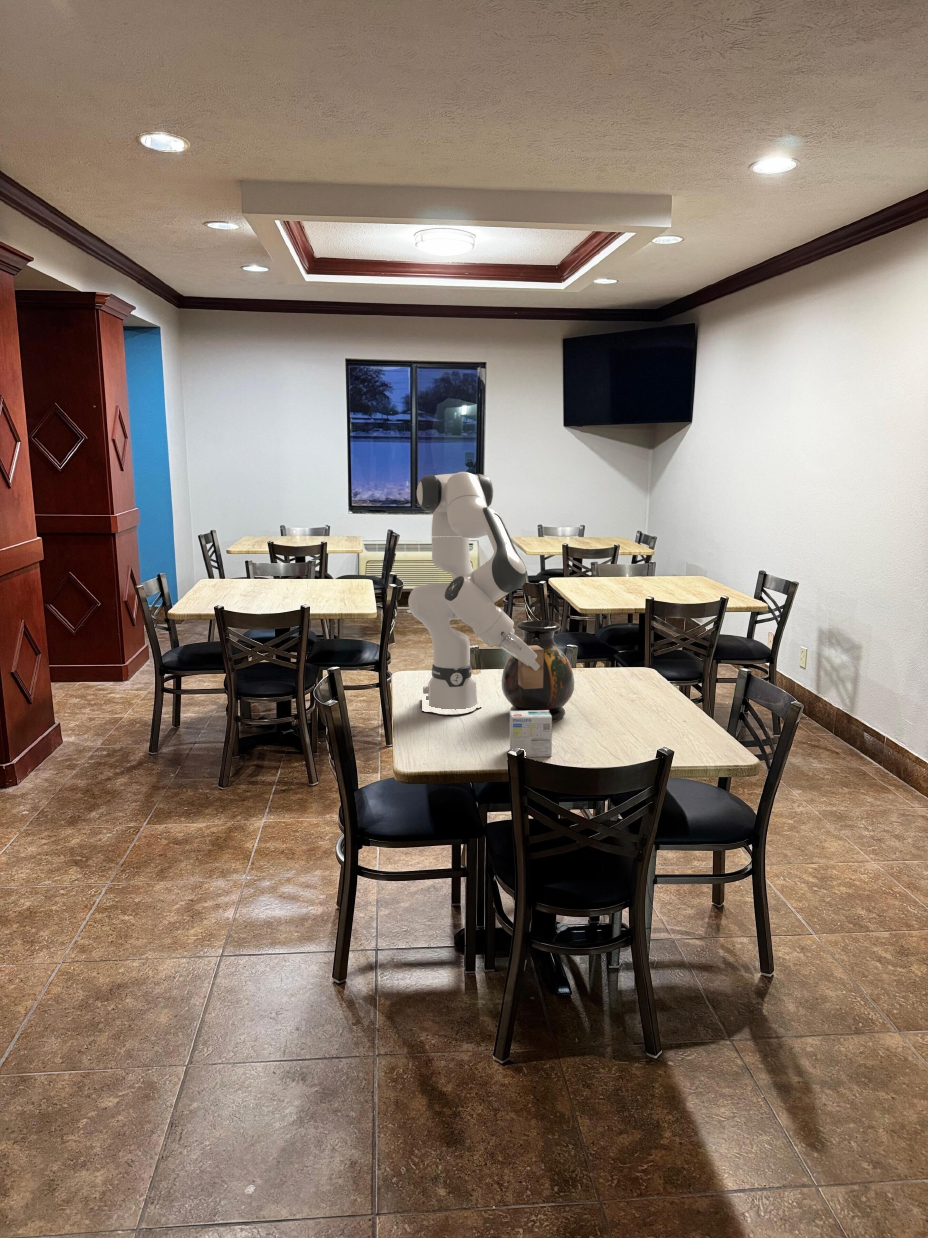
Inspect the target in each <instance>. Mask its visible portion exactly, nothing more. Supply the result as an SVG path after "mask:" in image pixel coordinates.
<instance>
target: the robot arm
mask: <svg viewBox="0 0 928 1238" xmlns="http://www.w3.org/2000/svg"><path fill="white" fill-rule="evenodd" d="M416 498H417V502H418V504H419V507H420V508H421V509H422V510H424V511H426V512H429V513H430V512H431V513H433V514H432V522H431V559H432V563H433V564H434V566H435V567H436V568H437V569H439V570H441V571H443V572H445V573H447V574H449V575H451V577H452V580H451V582H447V583H445V582H443V583H428V584H427V583H426V584H423V585H418V586H415V587H413V589H412V590H411V591H410V594H409V596H408V600H407V601H408V603H407V604H408V609H409V611H410V613H411V615H412V616H413V617H414V618H415V619H417V620H418V621H419V622H421V624H423V625H424V627H425V628H426V629H427V631H428V633H429V635H430V637H431V642H432V652H433V653H432V656H433V664H432V666H431V678H430V679H429V681H428V682H427V686H422V693H423V695H425V696H426V695H428V696H426V700H429V706H431V707H435V708H441V709H455V710H456V709H466V708H471V707H473V706H475V705H476V704H477V702H478V696H477V694H478V693H477V683H476V680H474V679H473V678H472V671H473V668H472V664H471V643H470V642H471V641H470V638H469V637H468V636H467V635H466V634H465V633H464V632H461V631H459V630H457V629H454V628H453V627H451V623H450V622H451V621H453V620H454V621H455V620H461V621H462V622H463V623H464V624H465V625H468V626H469V627H470V628H471V629H472V631H473V632H474V634H475V635H476V636H477V637H478V638H479V639H481V641H482V642H484V643H485V644H486V645H487V647H490V648H492V647H495V648H497V649H498V648H500V649H502V650H503V651H504V652H506V653H508V654H510V655H512V656H514V657H515V658H517V659H518V660H520V661H521V662H523V663H524V664H525V665H527V666H530V667H531V668H532V669H534V670H535V671H536V670H538V669H539V668H540V665H539V664H538V663H537V662H536V661H535V659H536V658H537V655H536V653H535V652H534V651H533V650H532V649H531V648H530V647H529V646H528V645H527V644H525V643H524V642H523V640H522V638H520V637H519V636H518V635H516V634H515V629H514V625H515V622H514V620H512V619H511V618H510V616H509V615H508V614H507V613H506V612H505V611H504V610H503V609H502V608H500V607H499V606H498V605H495V603H496V602H497V601H499V600H500V599H502V598H503V597H505V596H507V595H508V594H510V593H512V592H514V591H516V590H518V589H519V588H522V587H523V586H524V585H525V582H526V579H527V566H526V565H525V563H524V561H523V559H522V558H521V556H520V555H519V553H518V552H517V549H516V547H515V545H514V542H513V540H512V538H511V536H510V534H509V531H508V528H507V526H506V524H505V522H504V521H503V518H502V517H501V516H500V513H498V512H497V510H496V509H494V508H492V507H491V505H492V501H493V498H494V486H493V483H492V480H491V479H490V477H489V476H487V475H484V474H480V473H476V474H474V473H470V472H468V471H458V472H455V473H445V474H444V473H443V474H436V475H435V474H428V475H424V476H422V478H421V479H420V480H419V481H418V485H417V489H416ZM485 536H487V537H488V539H489V542H490V544H491V547H492V550H493V554H492V556H491V557H490V558H489V559H488V561H487V560H486V562H485V563H483V564H482V565H481V566H479V567H477V568H476V569H474V568H473V565H472V562H471V555H470V540H469V539H478V538H481V537H485Z"/></svg>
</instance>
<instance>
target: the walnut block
mask: <svg viewBox="0 0 928 1238" xmlns="http://www.w3.org/2000/svg"><path fill="white" fill-rule="evenodd" d="M529 647H530V648H531V649H532V650H533V651H534V652H535V653H536V655H537V658H536V659H535V661H536V662H537V663H538V664H539V665H540V668H539V669H538V670H536V671H535V670H534V669H532V668H531V667H530V666H527V665H525V664H524V663H523V662H521V661H520V660H518V685H520V686H521V687H522V688H524V689H534V688H543V663H544V649H542V648H541V647H539V646H537V645H534V646H529Z"/></svg>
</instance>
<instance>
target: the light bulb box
mask: <svg viewBox="0 0 928 1238" xmlns="http://www.w3.org/2000/svg"><path fill="white" fill-rule="evenodd" d="M552 738H553V721H552V716H551V714H550V712H549V710H536V711H510V710H509V751H510V750H512V749H515V748H520V749H524V750H525V752H526V756H527V757H526V758H535V757H536V758H537V757H538V758H541V757H545V758H547V757H552V756H553V752H552V751H553V749H552V747H553V746H552V744H553V743H552V742H553V739H552Z"/></svg>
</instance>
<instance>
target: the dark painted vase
mask: <svg viewBox="0 0 928 1238" xmlns="http://www.w3.org/2000/svg"><path fill="white" fill-rule="evenodd" d="M516 628H517V630H519V631H521V632H522V635H523V640H522V641H523V642H524V643H525V644H527V645H528V646H534V645H537V646H539V647H541V648H542V649H544V663H543V688H534V689H524V688H522V687H521V686H520V685H518V659H517V658H515V657H514V656H512V655H511V654H510V655H509V657H508V658H507V660H506V662H505V665H504V667H503V671H502V676H501V690H502V693H503V696H504V697H505V698H506V700H507V701H508V703H509V704H511V707H510V708H509V712H510V711H536V710H549V712H550V714H551V716H552V722H556V721H558V720H560V719H563V717H564V716H565V715H566V710H565V708H564V706H565V705H566V704H567V703H568V702H569V701H570V699H571V697H572V696H573V694H574V690H575V676H574V673H573V668H572V665H571V663H570V660H569V659H568V658H567V656H566V655H565V654H564V652H563V651H562V650H561V649H560V648H559V647H558V645H557V644H556V642H555V641H554V636H555V635H554V634H555V632H557V631H559V630H560V629H561V624H559V623H558V622H555V621H549V620H541V619H540V620H525V621H524V620H523V621H520V622H518V623H517V624H516Z"/></svg>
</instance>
